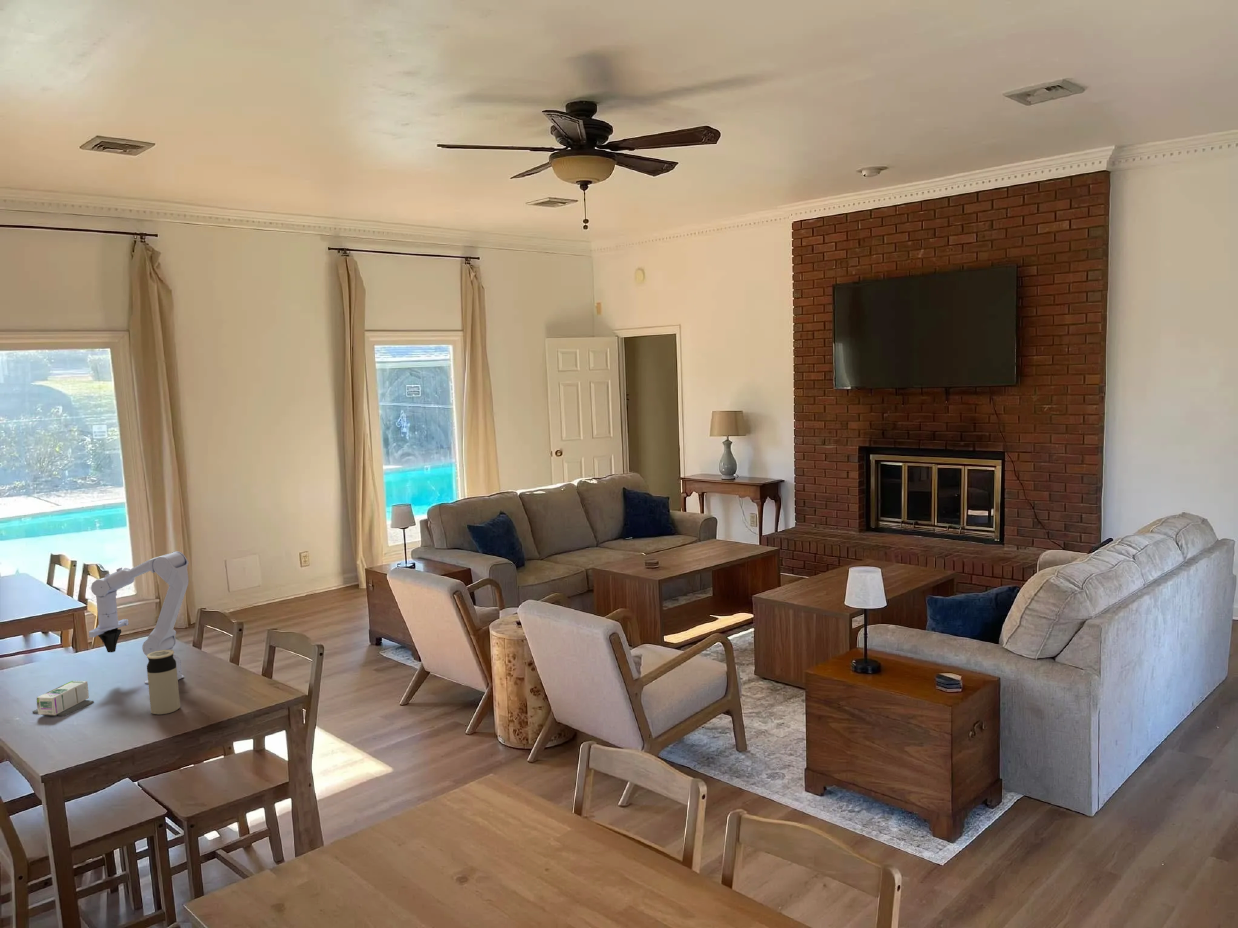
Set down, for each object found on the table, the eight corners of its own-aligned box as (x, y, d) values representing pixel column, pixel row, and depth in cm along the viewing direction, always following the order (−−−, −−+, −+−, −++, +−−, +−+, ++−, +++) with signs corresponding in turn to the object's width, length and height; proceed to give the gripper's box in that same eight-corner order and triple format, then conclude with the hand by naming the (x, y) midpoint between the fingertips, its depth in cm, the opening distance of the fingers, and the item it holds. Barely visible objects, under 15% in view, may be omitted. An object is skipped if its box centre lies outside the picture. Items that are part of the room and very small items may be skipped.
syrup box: (87, 680, 282) (52, 696, 267) (89, 698, 282) (54, 715, 268) (71, 680, 283) (35, 696, 268) (73, 698, 283) (37, 715, 269)
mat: (93, 702, 280) (93, 700, 280) (63, 715, 269) (62, 714, 269) (64, 699, 283) (63, 697, 283) (32, 712, 273) (32, 710, 273)
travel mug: (168, 715, 267) (162, 658, 265) (145, 714, 268) (139, 657, 266) (185, 705, 275) (180, 649, 273) (163, 704, 276) (158, 648, 274)
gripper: (115, 606, 306) (118, 644, 307) (79, 618, 292) (83, 657, 294) (132, 607, 304) (135, 645, 306) (97, 619, 290) (101, 659, 292)
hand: (111, 651), depth 299 cm, fingers closed
